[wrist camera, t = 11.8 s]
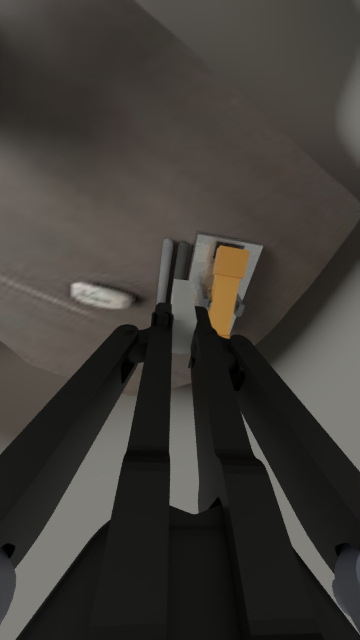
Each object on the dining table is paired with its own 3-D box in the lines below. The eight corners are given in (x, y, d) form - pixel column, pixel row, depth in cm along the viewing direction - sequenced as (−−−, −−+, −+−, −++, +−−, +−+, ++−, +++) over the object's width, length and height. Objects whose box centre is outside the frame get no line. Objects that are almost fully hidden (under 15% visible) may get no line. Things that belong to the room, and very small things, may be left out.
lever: (217, 248, 32) (221, 245, 29) (243, 253, 32) (249, 250, 30) (198, 352, 35) (200, 357, 33) (222, 355, 36) (226, 360, 33)
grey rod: (164, 236, 36) (163, 238, 34) (174, 238, 36) (174, 240, 35) (156, 307, 45) (155, 311, 43) (164, 309, 45) (163, 313, 43)
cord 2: (179, 239, 36) (179, 241, 35) (189, 241, 37) (189, 243, 35) (168, 309, 45) (168, 313, 43) (176, 310, 45) (176, 315, 43)
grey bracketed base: (196, 231, 36) (201, 240, 26) (255, 242, 37) (281, 255, 27) (179, 318, 46) (179, 347, 37) (225, 325, 47) (237, 354, 38)
